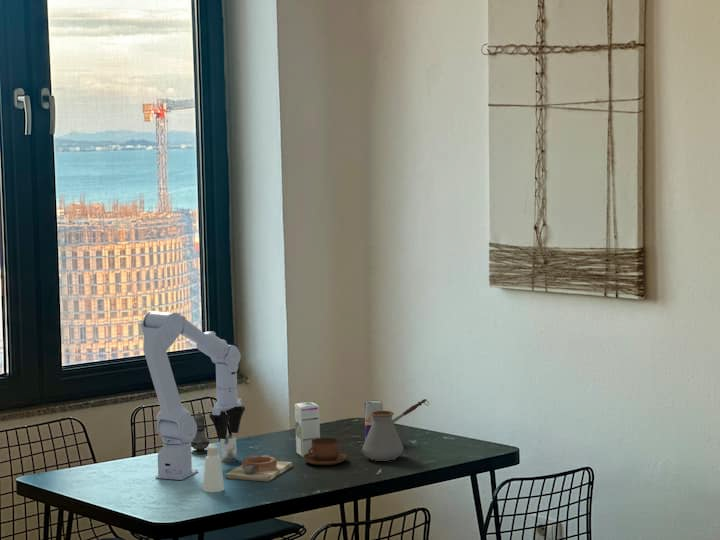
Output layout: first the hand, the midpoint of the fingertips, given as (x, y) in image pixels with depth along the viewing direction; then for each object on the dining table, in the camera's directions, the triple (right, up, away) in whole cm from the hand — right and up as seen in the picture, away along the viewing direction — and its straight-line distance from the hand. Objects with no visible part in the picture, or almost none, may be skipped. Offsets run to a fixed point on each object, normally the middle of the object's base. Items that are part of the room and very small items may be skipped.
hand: (228, 435), depth 316 cm
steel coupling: (0, -7, 0) cm, 7 cm away
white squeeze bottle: (0, -9, -30) cm, 32 cm away
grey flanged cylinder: (-9, -7, +10) cm, 15 cm away
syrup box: (+22, -6, +5) cm, 24 cm away
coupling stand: (+10, -8, -14) cm, 19 cm away
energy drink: (+41, -5, +20) cm, 46 cm away
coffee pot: (+47, -6, +2) cm, 48 cm away
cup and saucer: (+27, -7, -4) cm, 28 cm away
